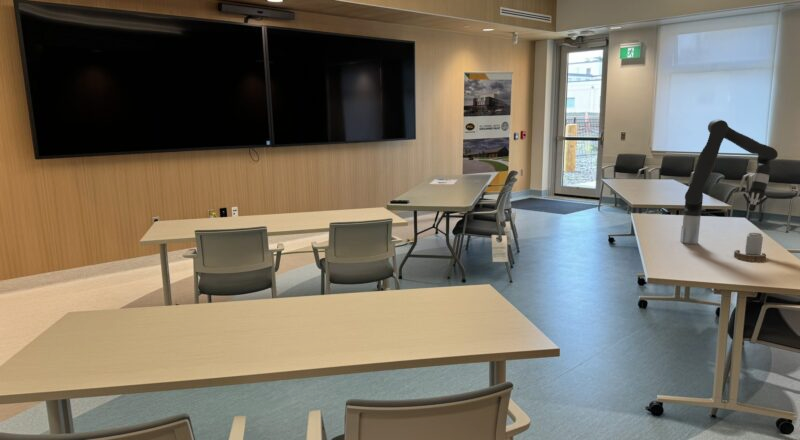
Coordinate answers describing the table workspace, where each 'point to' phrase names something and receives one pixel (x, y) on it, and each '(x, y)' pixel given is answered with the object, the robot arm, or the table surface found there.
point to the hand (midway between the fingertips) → (751, 211)
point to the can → (754, 244)
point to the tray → (749, 256)
